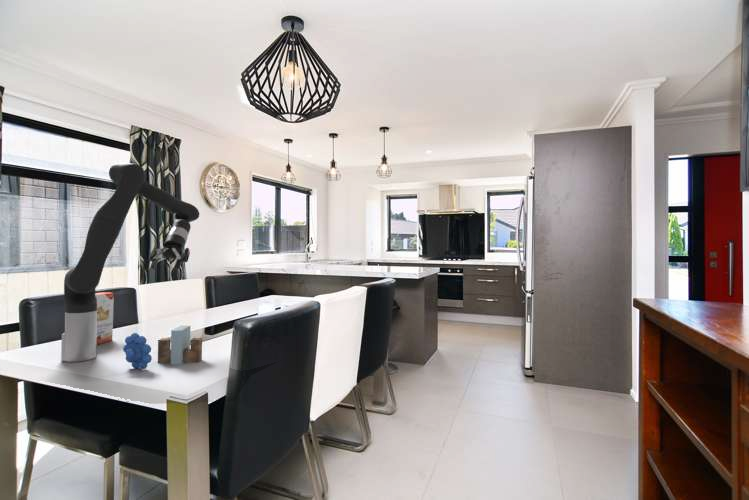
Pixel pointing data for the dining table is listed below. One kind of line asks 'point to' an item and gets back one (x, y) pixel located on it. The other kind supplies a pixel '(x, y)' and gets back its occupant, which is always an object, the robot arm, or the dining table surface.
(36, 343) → the dining table surface
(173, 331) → the light blue block
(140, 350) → the grapes
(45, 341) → the dining table surface
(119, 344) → the dining table surface
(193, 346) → the brown u-shaped block
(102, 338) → the cracker box
